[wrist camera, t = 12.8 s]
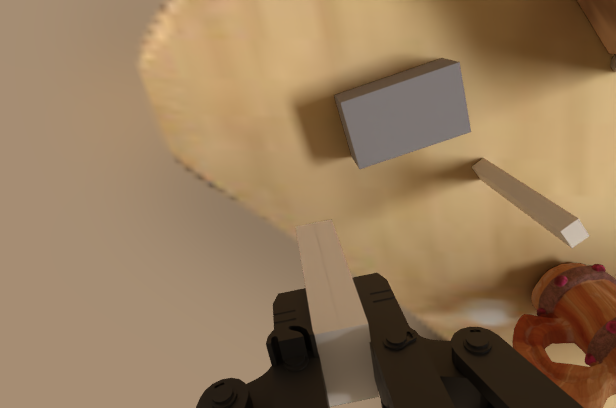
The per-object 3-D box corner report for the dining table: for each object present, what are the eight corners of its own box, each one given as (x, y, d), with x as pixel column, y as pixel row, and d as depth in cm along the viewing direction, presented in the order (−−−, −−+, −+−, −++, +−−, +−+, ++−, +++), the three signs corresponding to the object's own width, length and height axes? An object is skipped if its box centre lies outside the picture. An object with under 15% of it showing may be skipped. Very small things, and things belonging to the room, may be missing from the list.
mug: (602, 242, 47) (739, 334, 34) (600, 301, 51) (725, 407, 37) (471, 277, 48) (555, 382, 34) (478, 334, 51) (557, 451, 37)
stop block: (440, 57, 38) (459, 62, 35) (452, 121, 41) (470, 131, 37) (333, 94, 39) (340, 102, 35) (351, 155, 41) (359, 169, 38)
